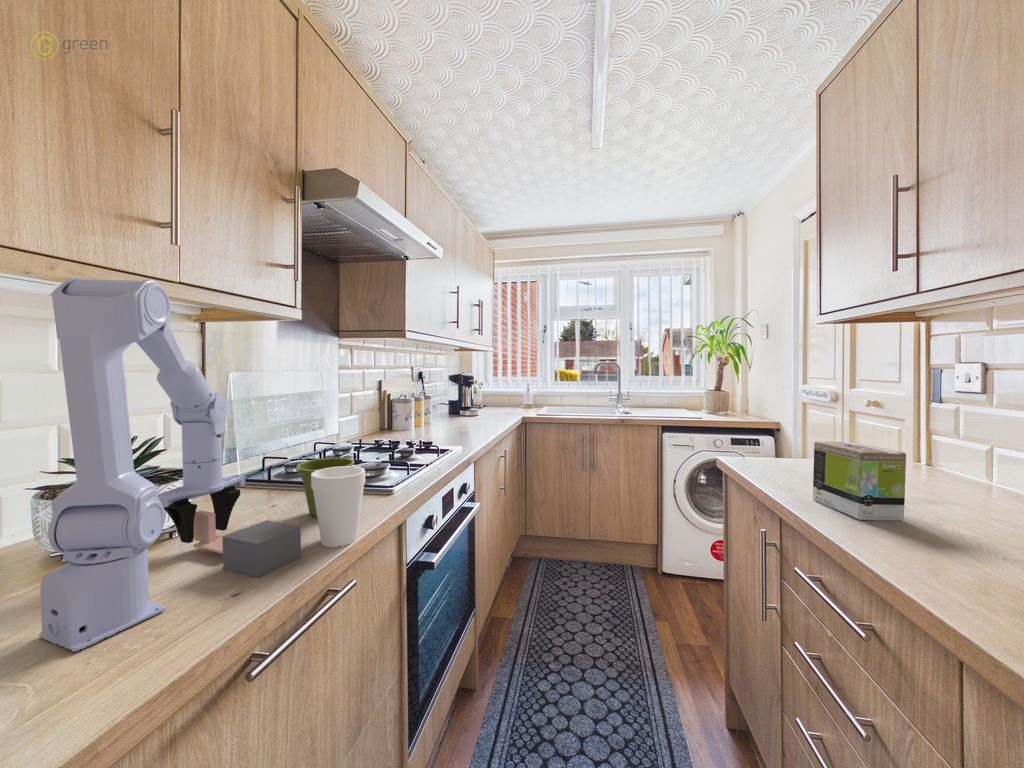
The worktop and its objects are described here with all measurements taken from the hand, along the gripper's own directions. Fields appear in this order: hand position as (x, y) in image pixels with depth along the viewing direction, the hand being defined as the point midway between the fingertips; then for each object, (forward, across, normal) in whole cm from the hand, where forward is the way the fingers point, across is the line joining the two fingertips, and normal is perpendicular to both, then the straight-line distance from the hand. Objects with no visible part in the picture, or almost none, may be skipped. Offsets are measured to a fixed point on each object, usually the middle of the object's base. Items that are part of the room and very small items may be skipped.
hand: (204, 535), depth 77 cm
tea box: (+3, +67, -118) cm, 135 cm away
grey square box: (+2, 0, -14) cm, 15 cm away
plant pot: (+3, +23, -6) cm, 24 cm away
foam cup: (+3, +12, -20) cm, 23 cm away
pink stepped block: (+1, 0, -3) cm, 4 cm away
